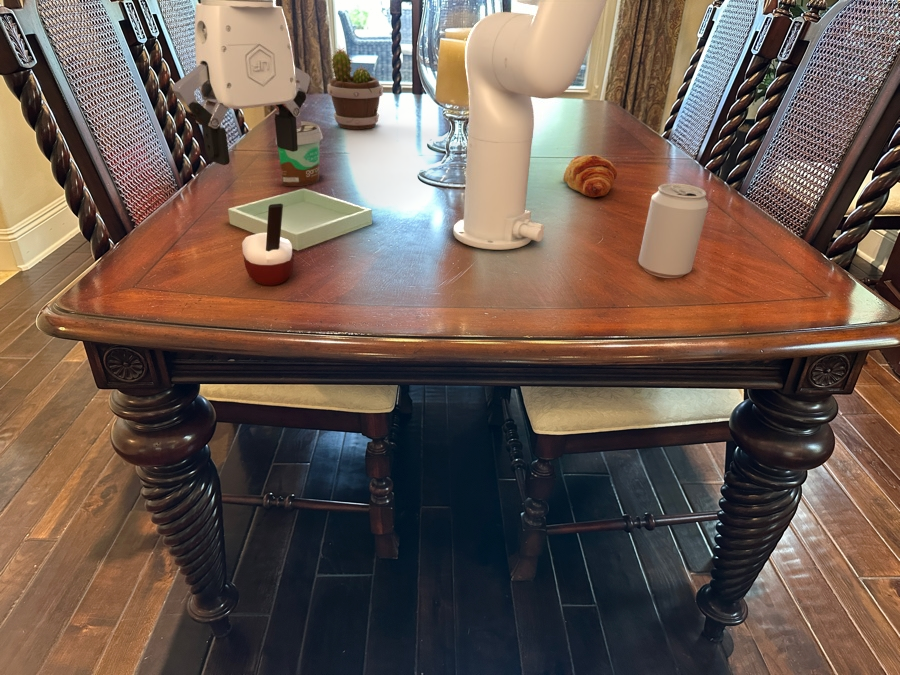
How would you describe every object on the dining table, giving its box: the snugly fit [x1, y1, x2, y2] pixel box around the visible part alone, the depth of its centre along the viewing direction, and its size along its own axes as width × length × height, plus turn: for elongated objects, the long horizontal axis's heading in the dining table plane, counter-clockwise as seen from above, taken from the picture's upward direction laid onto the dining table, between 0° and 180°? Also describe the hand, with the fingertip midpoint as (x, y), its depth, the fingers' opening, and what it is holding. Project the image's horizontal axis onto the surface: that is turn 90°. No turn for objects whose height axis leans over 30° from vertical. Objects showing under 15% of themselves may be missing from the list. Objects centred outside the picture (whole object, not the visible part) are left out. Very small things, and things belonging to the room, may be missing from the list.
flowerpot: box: [326, 45, 384, 131], centre depth 160 cm, size 14×15×20 cm
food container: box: [275, 120, 323, 187], centre depth 118 cm, size 12×6×10 cm, turn 168°
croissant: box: [562, 154, 618, 198], centre depth 122 cm, size 21×10×8 cm, turn 179°
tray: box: [227, 187, 373, 252], centre depth 99 cm, size 17×16×2 cm
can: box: [638, 182, 709, 279], centre depth 85 cm, size 8×8×12 cm
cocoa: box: [241, 204, 294, 287], centre depth 77 cm, size 10×6×12 cm, turn 10°
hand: (255, 155), depth 72 cm, fingers open, 9 cm apart
